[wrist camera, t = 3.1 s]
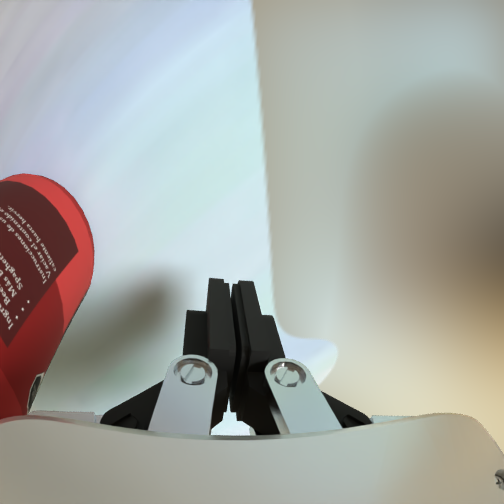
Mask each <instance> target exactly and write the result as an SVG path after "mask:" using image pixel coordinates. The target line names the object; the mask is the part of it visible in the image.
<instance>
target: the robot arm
mask: <svg viewBox="0 0 504 504" xmlns="http://www.w3.org/2000/svg"><path fill="white" fill-rule="evenodd" d="M228 399H229V401H230V411H231V412H236V417H237V421H243V422H244V423H246V424H247V425H249V426H250V428H249V431H250V436H223V435H211V429H212V428H213V427H215V426H216V425H217V424H218V423H220V422H221V421H222V420H223V414H224V412H226V411H227V405H228ZM0 504H504V454H503V453H502V451H501V450H500V448H499V446H498V445H497V444H496V442H495V441H494V439H493V438H492V436H491V435H490V434H489V433H488V431H487V430H486V429H485V428H484V427H483V426H482V424H481V423H480V422H478V421H477V420H476V419H474V418H472V417H470V416H467V415H463V414H456V413H433V414H425V415H419V416H376V415H373V416H372V417H371V418H368V417H367V416H366V415H365V414H363V413H361V412H360V411H358V410H356V409H354V408H352V407H350V406H348V405H346V404H344V403H343V402H341V401H339V400H337V399H335V398H333V397H331V396H329V395H328V394H326V393H324V392H322V391H321V390H320V389H319V387H318V385H317V383H316V382H315V380H314V378H313V377H312V375H311V373H310V371H309V370H308V369H307V367H306V366H304V365H303V364H302V363H300V362H298V361H296V360H293V359H288V358H285V354H284V351H283V348H282V344H281V341H280V338H279V334H278V331H277V328H276V324H275V321H274V318H273V316H272V315H262V314H261V310H260V306H259V302H258V298H257V294H256V290H255V286H254V282H253V281H240V280H239V281H238V284H233V286H232V292H231V298H230V289H229V283H224V279H215V278H209V284H208V294H207V305H206V311H194V310H187V314H186V324H185V335H184V346H183V356H180V357H178V358H176V359H175V360H173V361H172V362H171V364H170V365H169V367H168V370H167V373H166V376H165V379H164V380H163V381H161V382H160V383H158V384H156V385H154V386H152V387H151V388H149V389H147V390H145V391H144V392H142V393H140V394H138V395H136V396H134V397H133V398H131V399H129V400H127V401H125V402H123V403H121V404H120V405H118V406H116V407H114V408H112V409H110V410H109V411H107V412H106V413H105V414H104V415H95V413H94V412H59V411H33V412H31V413H29V414H27V415H24V416H13V417H8V418H4V419H1V420H0Z"/></svg>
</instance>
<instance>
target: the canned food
mask: <svg viewBox="0 0 504 504" xmlns="http://www.w3.org/2000/svg"><path fill="white" fill-rule="evenodd" d="M93 267H94V244H93V236H92V233H91V230H90V227H89V223H88V221H87V219H86V217H85V215H84V212H83V210H82V209H81V207H80V206H79V204H78V203H77V201H76V200H75V198H74V197H73V196H72V195H71V194H70V193H69V192H68V191H67V190H66V189H65V188H64V187H62V186H61V185H59V184H58V183H57V182H55V181H53V180H51V179H48V178H46V177H44V176H39V175H32V174H17V175H12V176H10V177H7V178H5V179H3V180H0V420H1V419H4V418H8V417H13V416H24V415H27V414H28V413H29V411H30V408H31V406H32V403H33V401H34V398H35V396H36V394H37V391H38V389H39V387H40V384H41V382H42V380H43V378H44V375H45V373H46V371H47V369H48V367H49V365H50V363H51V360H52V358H53V356H54V354H55V352H56V350H57V348H58V346H59V344H60V342H61V340H62V338H63V336H64V334H65V332H66V330H67V328H68V327H69V325H70V323H71V321H72V319H73V317H74V315H75V313H76V312H77V310H78V308H79V306H80V304H81V303H82V301H83V299H84V297H85V296H86V293H87V291H88V289H89V287H90V284H91V279H92V274H93Z"/></svg>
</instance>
